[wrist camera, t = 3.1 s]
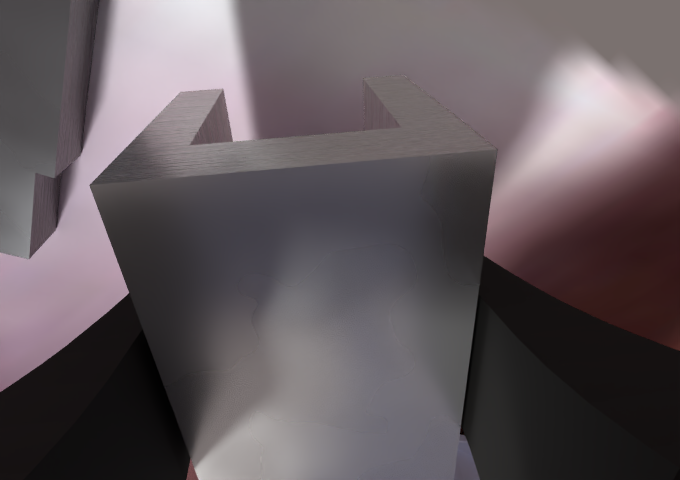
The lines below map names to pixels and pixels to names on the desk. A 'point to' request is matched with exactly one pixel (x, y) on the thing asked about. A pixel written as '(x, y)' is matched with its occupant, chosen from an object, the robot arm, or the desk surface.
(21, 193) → the coupler
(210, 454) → the lock
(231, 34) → the desk surface
